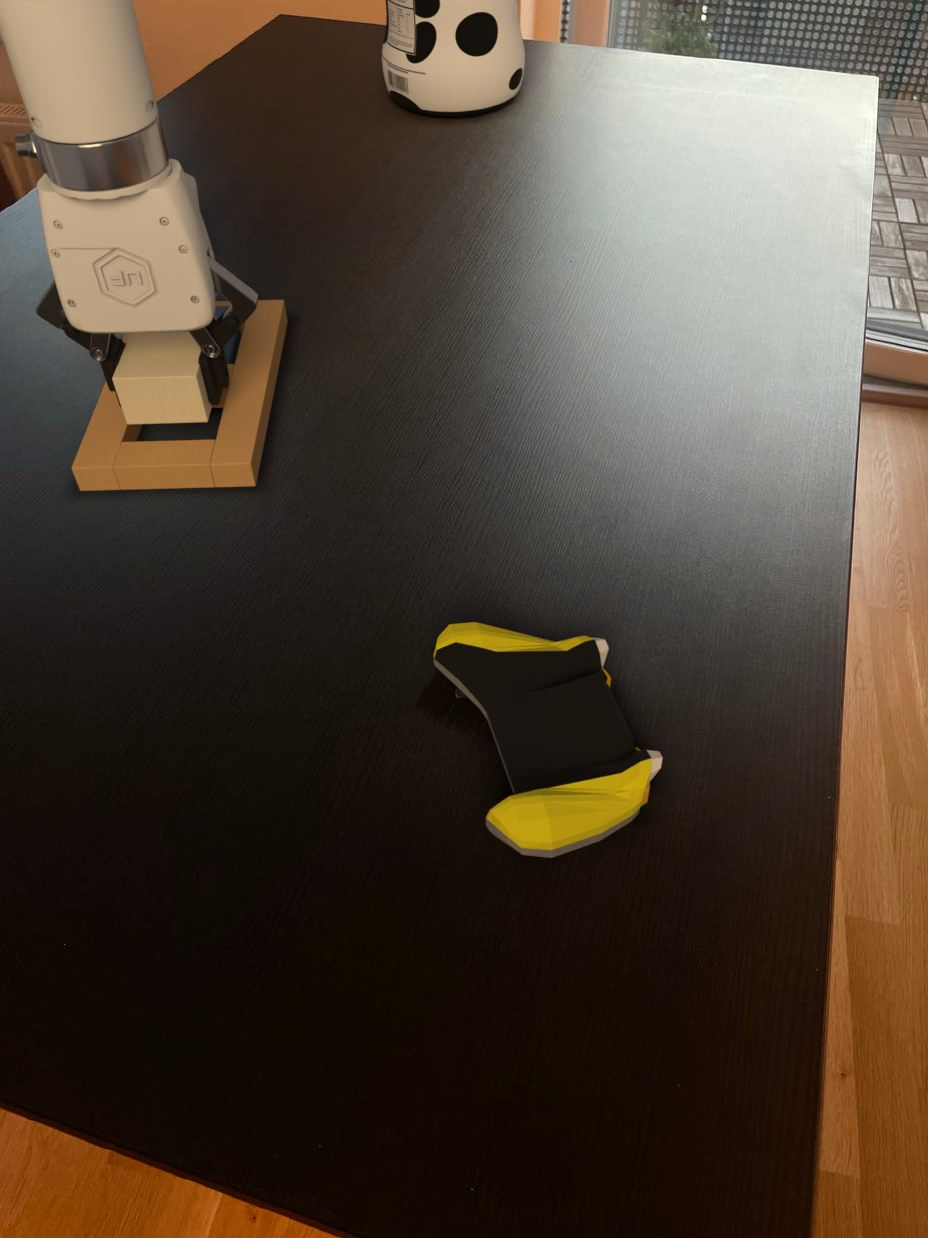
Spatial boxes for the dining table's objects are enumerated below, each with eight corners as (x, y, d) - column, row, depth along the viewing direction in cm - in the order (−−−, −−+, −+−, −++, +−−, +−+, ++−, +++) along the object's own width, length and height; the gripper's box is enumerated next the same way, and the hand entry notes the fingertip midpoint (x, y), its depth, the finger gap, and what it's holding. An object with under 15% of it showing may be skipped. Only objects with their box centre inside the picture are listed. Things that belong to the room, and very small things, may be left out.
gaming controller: (496, 895, 51) (677, 848, 53) (497, 840, 47) (693, 791, 49) (428, 678, 61) (582, 644, 63) (424, 617, 57) (588, 582, 59)
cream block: (126, 424, 73) (111, 378, 70) (143, 378, 78) (129, 332, 75) (208, 422, 73) (196, 375, 70) (220, 376, 77) (209, 330, 75)
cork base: (81, 494, 74) (70, 467, 72) (143, 328, 89) (136, 302, 87) (256, 490, 74) (250, 463, 72) (288, 324, 89) (284, 298, 87)
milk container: (535, 80, 128) (540, -87, 115) (508, 134, 117) (511, -45, 104) (406, 72, 131) (396, -92, 118) (367, 123, 120) (352, -52, 107)
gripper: (-54, 181, 59) (46, 429, 73) (234, 172, 59) (282, 422, 73) (-15, 131, 65) (72, 371, 78) (250, 122, 64) (292, 364, 78)
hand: (173, 393), depth 75 cm, fingers closed on cream block, 6 cm apart
